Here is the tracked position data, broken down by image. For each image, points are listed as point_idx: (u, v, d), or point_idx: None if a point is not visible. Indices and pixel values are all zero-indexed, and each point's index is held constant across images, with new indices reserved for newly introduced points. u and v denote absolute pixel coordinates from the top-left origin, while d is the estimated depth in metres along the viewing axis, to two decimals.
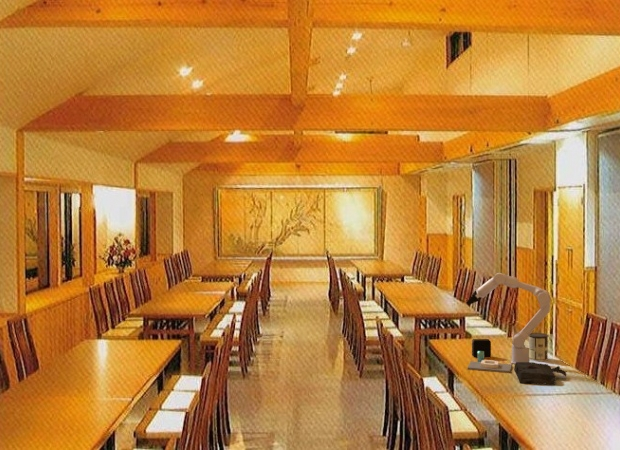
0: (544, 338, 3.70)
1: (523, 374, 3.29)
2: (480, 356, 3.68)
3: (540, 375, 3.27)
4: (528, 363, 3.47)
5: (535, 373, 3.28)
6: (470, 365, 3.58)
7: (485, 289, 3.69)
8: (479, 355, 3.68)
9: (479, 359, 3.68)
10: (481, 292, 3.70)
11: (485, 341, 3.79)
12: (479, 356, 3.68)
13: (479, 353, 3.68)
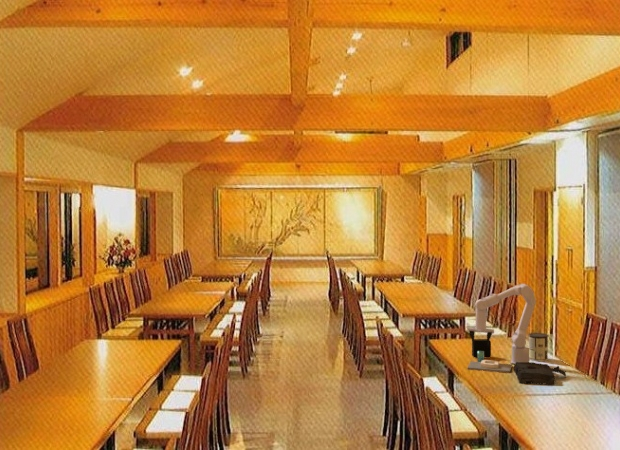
0: (544, 338, 3.70)
1: (522, 374, 3.29)
2: (480, 356, 3.68)
3: (539, 375, 3.27)
4: (528, 363, 3.48)
5: (534, 373, 3.28)
6: (470, 365, 3.58)
7: None
8: (479, 355, 3.68)
9: (479, 359, 3.68)
10: (485, 327, 3.68)
11: (485, 341, 3.79)
12: (479, 356, 3.68)
13: (479, 353, 3.68)
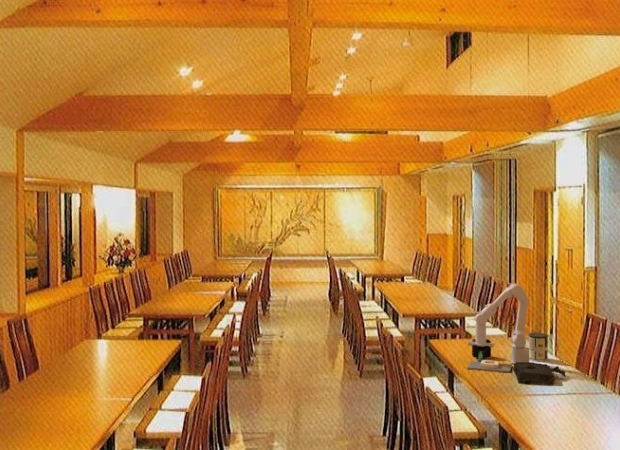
0: (544, 338, 3.70)
1: (522, 374, 3.29)
2: (480, 356, 3.68)
3: (539, 375, 3.27)
4: (527, 363, 3.48)
5: (534, 373, 3.28)
6: (470, 365, 3.58)
7: None
8: (479, 355, 3.68)
9: (479, 359, 3.68)
10: (485, 341, 3.68)
11: None
12: (479, 356, 3.68)
13: (479, 353, 3.68)
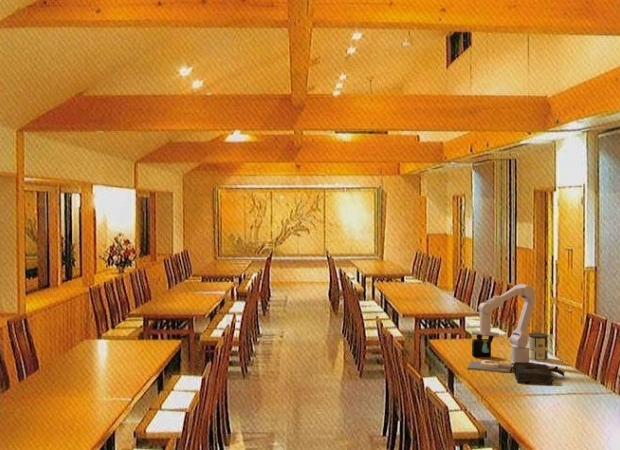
0: (544, 338, 3.70)
1: (521, 374, 3.29)
2: (485, 346, 3.61)
3: (538, 375, 3.27)
4: (526, 363, 3.48)
5: (533, 373, 3.28)
6: (470, 365, 3.58)
7: (490, 326, 3.61)
8: (484, 345, 3.61)
9: (484, 349, 3.62)
10: (490, 330, 3.61)
11: None
12: (484, 346, 3.62)
13: (484, 343, 3.62)
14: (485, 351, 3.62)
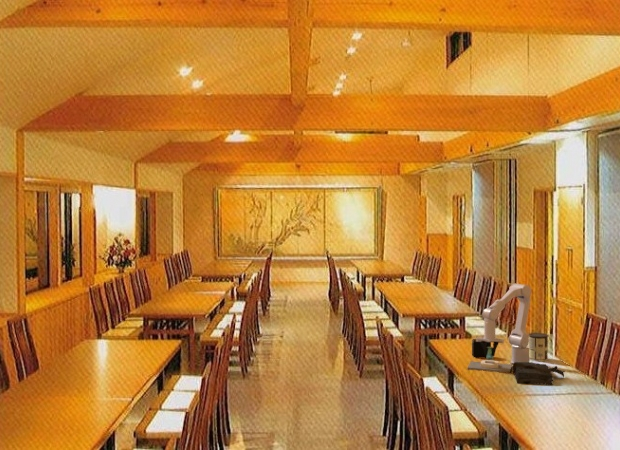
0: (544, 338, 3.70)
1: (520, 374, 3.29)
2: (490, 352, 3.55)
3: (537, 375, 3.27)
4: (526, 363, 3.48)
5: (532, 373, 3.28)
6: (470, 365, 3.58)
7: None
8: (489, 351, 3.55)
9: (488, 356, 3.56)
10: None
11: None
12: (488, 352, 3.56)
13: (488, 349, 3.56)
14: (490, 358, 3.55)
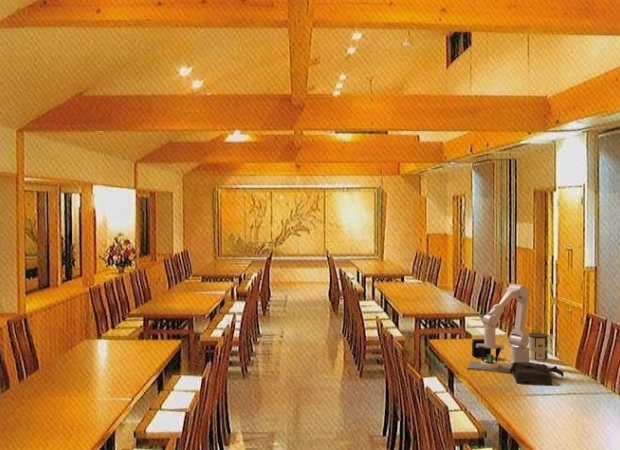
0: (544, 338, 3.70)
1: (520, 374, 3.29)
2: (490, 360, 3.55)
3: (537, 375, 3.27)
4: (525, 363, 3.48)
5: (532, 373, 3.28)
6: (470, 365, 3.58)
7: None
8: (489, 359, 3.56)
9: None
10: None
11: None
12: (488, 360, 3.56)
13: (488, 357, 3.56)
14: None
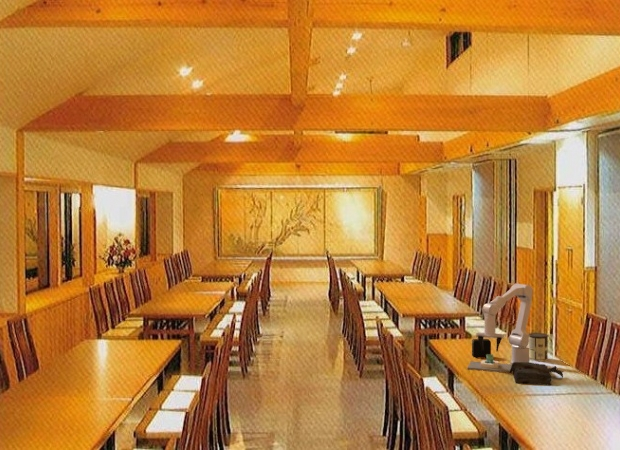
0: (544, 338, 3.70)
1: (519, 374, 3.29)
2: (490, 360, 3.55)
3: (536, 375, 3.27)
4: (525, 363, 3.48)
5: (531, 373, 3.28)
6: (470, 365, 3.58)
7: None
8: (489, 359, 3.56)
9: None
10: None
11: (485, 341, 3.79)
12: (488, 360, 3.56)
13: (488, 357, 3.56)
14: None
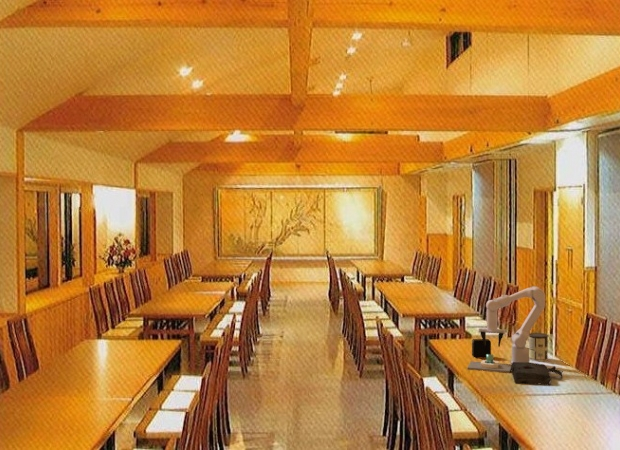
0: (544, 338, 3.70)
1: (518, 374, 3.29)
2: (490, 360, 3.55)
3: (535, 375, 3.27)
4: (524, 363, 3.48)
5: (530, 373, 3.28)
6: (470, 365, 3.58)
7: None
8: (489, 359, 3.56)
9: None
10: None
11: None
12: (488, 360, 3.56)
13: (488, 357, 3.56)
14: None
